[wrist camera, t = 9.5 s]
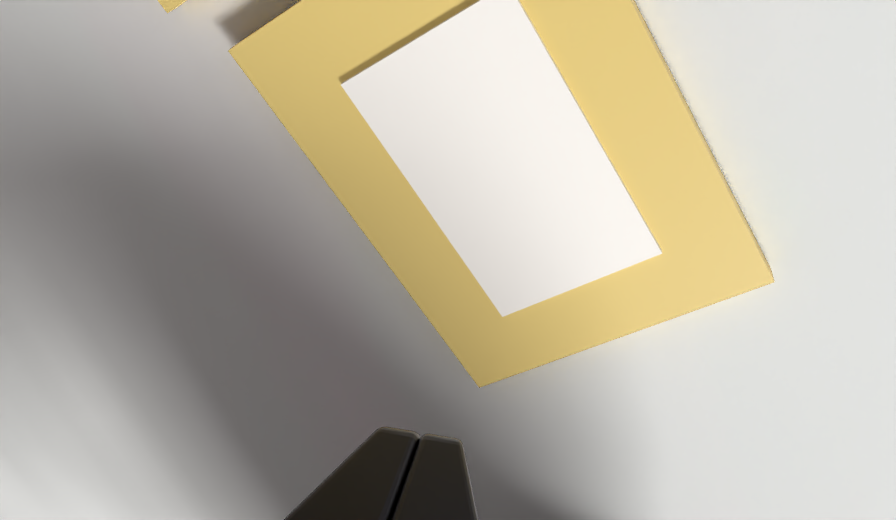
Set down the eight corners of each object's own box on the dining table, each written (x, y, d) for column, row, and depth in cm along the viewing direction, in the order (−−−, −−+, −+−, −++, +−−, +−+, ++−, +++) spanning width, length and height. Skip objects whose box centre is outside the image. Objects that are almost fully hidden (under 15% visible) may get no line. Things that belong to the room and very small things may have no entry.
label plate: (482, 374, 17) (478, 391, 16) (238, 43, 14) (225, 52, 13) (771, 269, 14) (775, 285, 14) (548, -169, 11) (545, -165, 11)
